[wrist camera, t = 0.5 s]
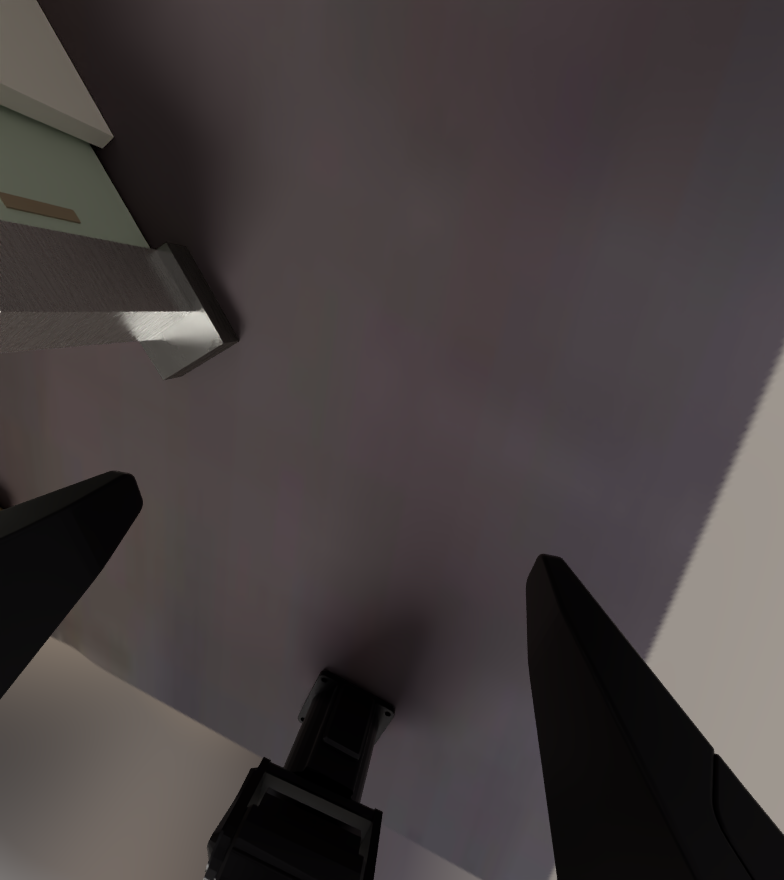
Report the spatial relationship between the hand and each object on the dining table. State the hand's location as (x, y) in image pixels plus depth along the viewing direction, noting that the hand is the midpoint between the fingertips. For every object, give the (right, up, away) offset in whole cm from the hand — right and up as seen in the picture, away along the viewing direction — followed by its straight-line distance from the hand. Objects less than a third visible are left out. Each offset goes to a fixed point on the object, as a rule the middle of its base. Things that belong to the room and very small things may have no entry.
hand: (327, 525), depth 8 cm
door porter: (-11, +9, +14) cm, 21 cm away
